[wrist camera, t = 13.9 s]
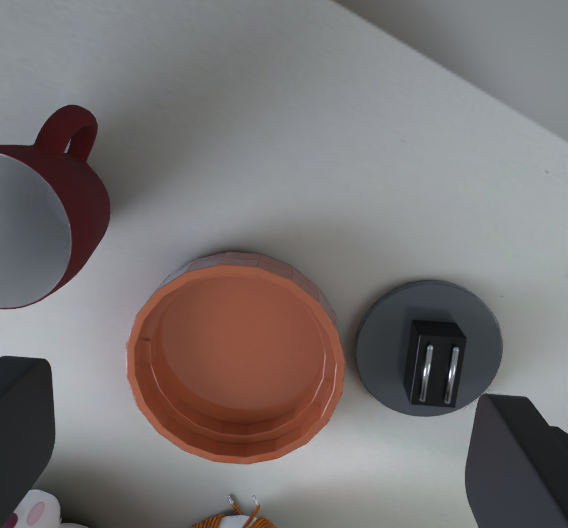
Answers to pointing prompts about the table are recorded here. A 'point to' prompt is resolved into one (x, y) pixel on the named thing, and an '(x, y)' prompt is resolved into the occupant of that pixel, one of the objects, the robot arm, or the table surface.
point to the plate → (396, 333)
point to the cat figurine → (38, 512)
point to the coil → (236, 519)
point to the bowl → (236, 358)
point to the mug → (49, 208)
